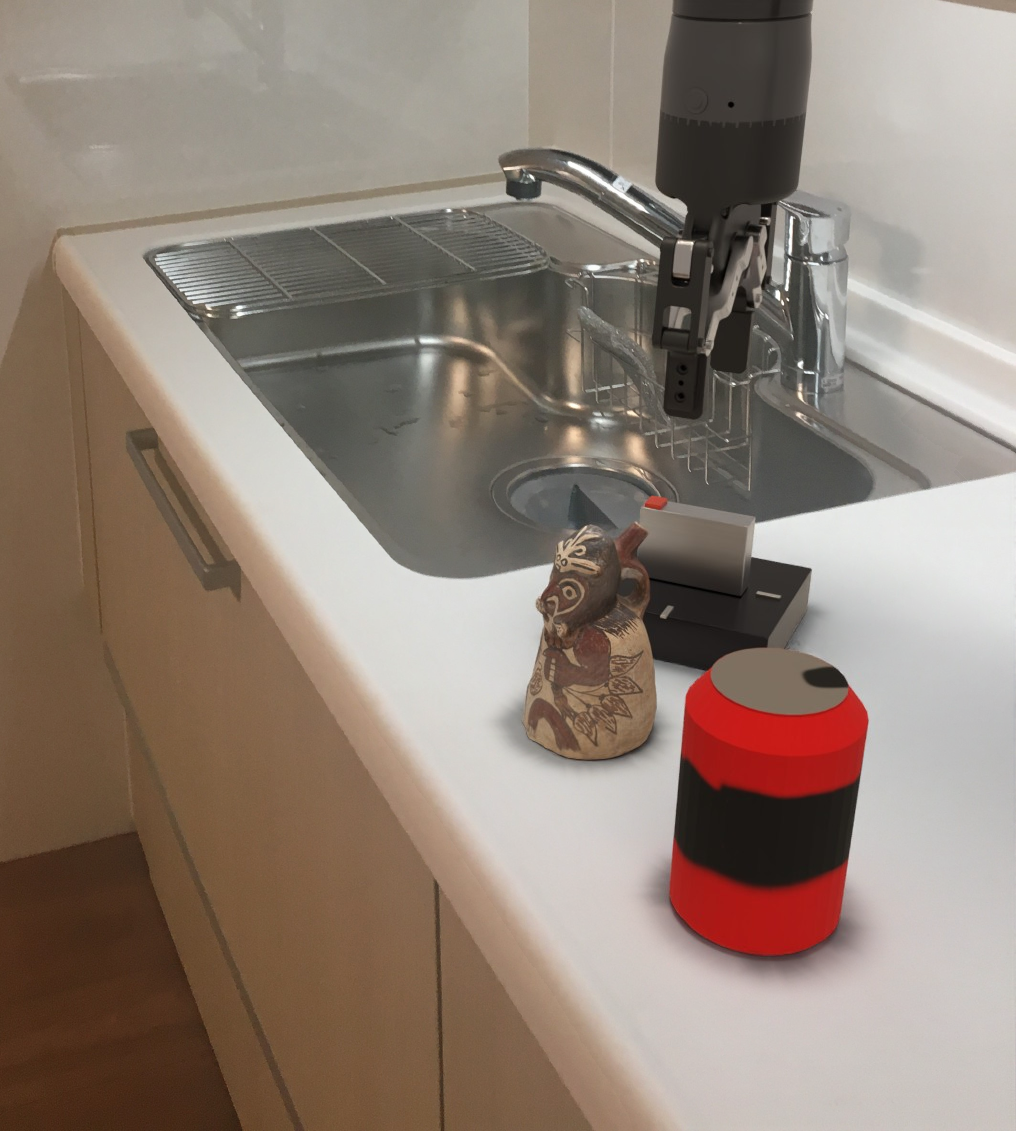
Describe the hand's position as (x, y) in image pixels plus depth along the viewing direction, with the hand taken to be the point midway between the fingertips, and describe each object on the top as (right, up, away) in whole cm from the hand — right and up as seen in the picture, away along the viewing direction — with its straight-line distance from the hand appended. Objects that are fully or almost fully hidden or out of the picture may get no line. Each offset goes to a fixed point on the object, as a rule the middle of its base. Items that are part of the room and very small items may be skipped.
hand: (707, 392), depth 89 cm
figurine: (-8, -19, -3) cm, 21 cm away
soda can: (-3, -26, -18) cm, 31 cm away
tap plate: (+1, -14, +6) cm, 15 cm away
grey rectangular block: (0, -11, +5) cm, 12 cm away
